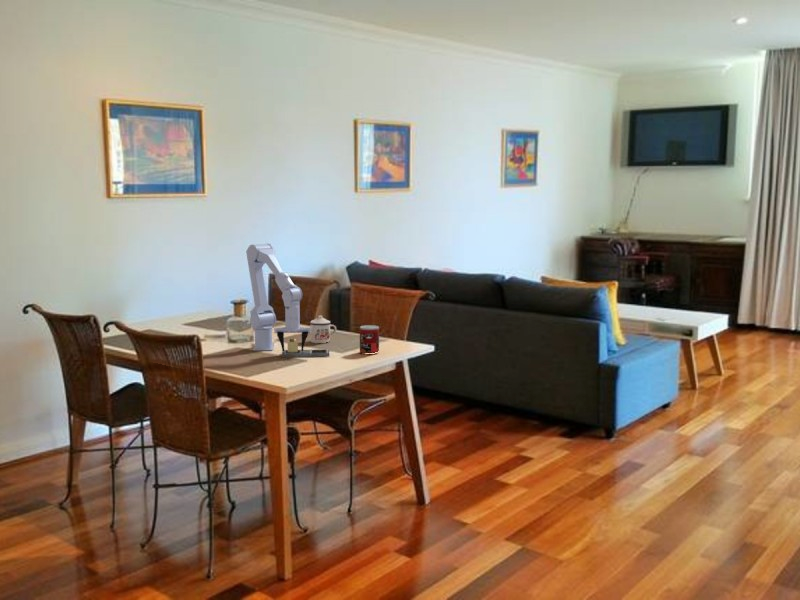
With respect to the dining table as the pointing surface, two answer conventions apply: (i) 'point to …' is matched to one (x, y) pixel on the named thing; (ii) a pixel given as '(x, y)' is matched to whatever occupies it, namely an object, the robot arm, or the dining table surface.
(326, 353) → the plate with square holes
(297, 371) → the dining table surface
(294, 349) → the cube with round knob
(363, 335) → the canned food
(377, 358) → the dining table surface
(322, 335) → the teacup with lid
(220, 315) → the dining table surface
